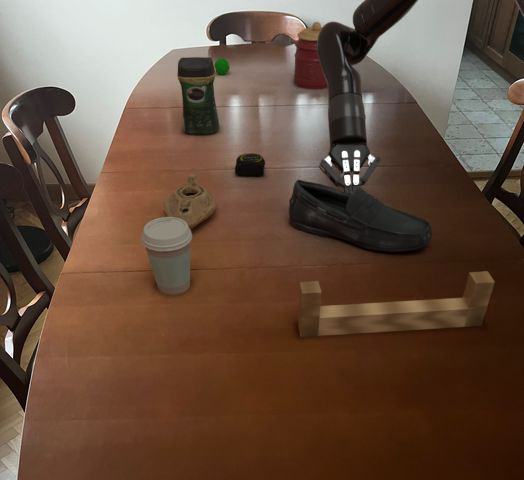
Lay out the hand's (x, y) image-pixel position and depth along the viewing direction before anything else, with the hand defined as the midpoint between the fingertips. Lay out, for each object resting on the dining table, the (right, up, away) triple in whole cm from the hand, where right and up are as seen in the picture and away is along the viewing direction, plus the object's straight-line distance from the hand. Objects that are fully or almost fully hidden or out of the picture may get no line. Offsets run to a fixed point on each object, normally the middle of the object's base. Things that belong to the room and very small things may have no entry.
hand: (352, 205), depth 121 cm
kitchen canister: (-2, +55, +68) cm, 88 cm away
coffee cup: (-34, -18, -14) cm, 41 cm away
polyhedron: (-32, +62, +76) cm, 103 cm away
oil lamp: (-33, -3, +4) cm, 34 cm away
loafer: (0, -7, -2) cm, 7 cm away
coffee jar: (-35, +30, +40) cm, 61 cm away
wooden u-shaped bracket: (+3, -26, -23) cm, 35 cm away
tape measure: (-21, +12, +20) cm, 31 cm away
